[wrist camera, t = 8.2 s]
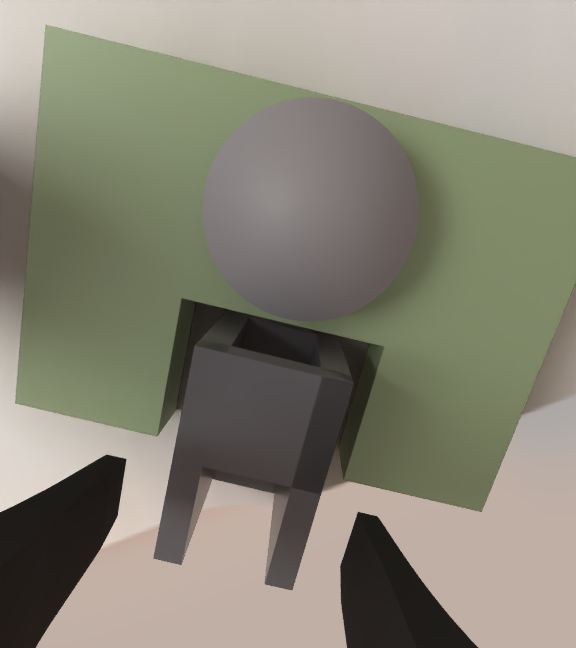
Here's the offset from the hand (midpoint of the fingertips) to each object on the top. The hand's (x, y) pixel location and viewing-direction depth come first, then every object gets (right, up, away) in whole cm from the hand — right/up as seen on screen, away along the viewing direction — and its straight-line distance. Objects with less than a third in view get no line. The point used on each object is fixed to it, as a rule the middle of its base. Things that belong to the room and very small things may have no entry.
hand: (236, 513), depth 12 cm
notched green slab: (+2, +7, +6) cm, 9 cm away
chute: (0, +2, +7) cm, 7 cm away
